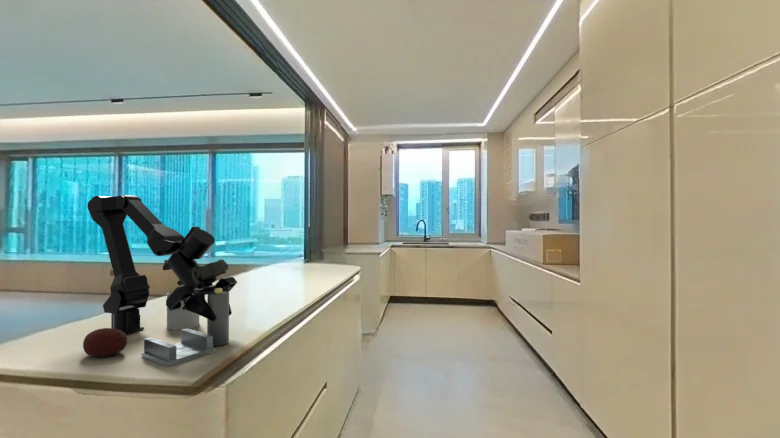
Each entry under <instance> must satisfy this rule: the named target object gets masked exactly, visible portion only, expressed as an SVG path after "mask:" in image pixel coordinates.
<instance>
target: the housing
mask: <svg viewBox="0 0 780 438" xmlns="http://www.w3.org/2000/svg"><path fill="white" fill-rule="evenodd" d="M180 334H181V335H180V341H179V342H175V343H170V342H167V341H164V340H160V339H158V338H155V337H152V336H151V337H146V338H143V341H144V342H143V346H144V347H143V351H142V352H141V358H143V359H146V360H148V361H151V362H152V363H153V362H154V363H155V364H158V365H160V366H163V367H164V368H165V367H166V368H169V367H172V366H174V365H175V366H176V365H178V364H181V363H184V362H187V361H191V360H193V359H196V358H200V357H203V356H205V355H206V356H207V355H210V354H213V353H215V352H216V348H215V346H213V336H212V335H209V334H207V333H206V332H202V331H198V330H195V329H192V328H189V329H188V328H186V329H182V330H180ZM212 352H213V353H212Z"/></svg>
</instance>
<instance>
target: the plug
mask: <svg viewBox="0 0 780 438" xmlns="http://www.w3.org/2000/svg"><path fill="white" fill-rule="evenodd" d="M206 302H207V303H208V305H209V306H210V308H211V309H212V311H213V312H214V314H215V316H216V320H215V321H211V320H209V319H207V318H206V319H207V321H206V322H207V323H206V326H207V327H206V330H207V331H206V334H209V335H212V336H213V347H217V346H223V345H227V344H228V343H229V341H230V316H229V304H230V291H229V292H222V288H216V289H215V292H212V293H208V294H207V300H206Z"/></svg>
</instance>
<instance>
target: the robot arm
mask: <svg viewBox="0 0 780 438" xmlns="http://www.w3.org/2000/svg"><path fill="white" fill-rule="evenodd" d="M87 210H88V212H89V214H90V217H91V220H92V221H93V222H94V223H95V224H97V225H98V226H99V227H100V228H101V230H102V234H103V237H104V241H105V245H106V248H107V253H108V257H109V260H110V264H111V268H112V273H113V275H114V277H113V281H112V282H111V285H110V288H109V289H110V295H109V297H108V298H107V299H106V300H105V302H104V303H103V304H102V308H103V312H104V313H106V314H111V321H110V323H111V325H110V328H112V329H117V330H121V331H123V332H124V333H125V334H126V335H127V336H128V335H130V334H133V333H136V332H139V331H142V330H144V329H145V326H144V327H143V326H141V314H140V309H141V308H146V306H147V303H148V299H149V296H150V288H151V287H150V285H149V282H148V277H147V276H146V274H139V273H138V272H137V270H136V267H135V263H134V259H133V256H132V252H131V248H130V244H129V241H128V237H127V234H126V230H125V226H124V223H125V220H126V218H127V216H128V218H130V220H131V221H132V222H133V223H134V224H135V225H136V226H137V227H138V229H140V230H141V232H143V234H144V235H145V237H146V245H147V246H148V247H149V249H150V250H151V251H152V253H153V255H155V256H157V257H162V256H170V257H169V258H168V259H164V262H163V264H162V265H163V266H162V271H169V270H171V271H172V272H173V273H174V275H175V276H176V277H177V278H178V281H177V282H176V284H177V285H178V287H175V289H174V290H172V291H173V292H172V291H171V292H172V293H171V295H170V296H169V297H168V298H167V297H166V299H165V305H166V308H167V307H168V308H169V310H170V311H172V310H176V309H179V308H180V307H181V302H180V301H182V300H183V302H184V304H185V305H184V306H183V308H182V309H183V310H188V311H191V312H193V313H196V314H198V315H199V316H201V317H203V318H205V319H209V320H211V321H215V320H216V316H215V314H214V312H213V311H212V309H211V308H210V306H209V305H208V303H207V300H206V296H208V293H212V292H215V289H216V288H222V292H229V293H230V291H232V289H233V288H234V287H235V286H236V285H237V284H238V281H237V280H236V279H235V277H234V276H226V277H221V278H220V279H219V280H218V278H217V277H219V276H221V275H222V274H226V273H227V271H228V270H229V264H228V263H227V262H226V261H225V260H224V259H217V260H216V261H214V262H213V261H211V262H210V263H207V264H205V265H200V264H199V263H198V262H197V260H200V259H202V258H203V257H204V256H205V255H206V254H207V252H208V251H209V250H210V249H211V247H213V245H214V244H215V243H216V240H215V237H214V236H213V234H211V233H209V232H207V231H206V230H204V229H201V228H200V226H192V227H191V228H190V229H189V231H188V233H187V234H186V235H185V236H184V235H183V234H181V233H180V232H178V231H177V230H176V229H174V228H170V227H169V226H166V225H165V224H164V223H162V222H161V220H159V218H158V217H157V216H156V215H155V214H154V213H153V211H152V210H150V209H149V208H148V207H147V206H146V205H145V204H144V203H143V201H142V198H141V197H139V196H137V195H133V194H132V195H129V194H121V195H117V196H109V195H107V196H105V195H103V196H102V195H95V196H93V197H91V199H89V201H88V203H87ZM217 280H218V281H217ZM216 281H217V282H216ZM215 282H216V283H215ZM213 283H215V284H213ZM232 314H233V312H232V308H231V305H230V303H229V317H230V316H231V315H232Z"/></svg>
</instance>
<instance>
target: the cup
mask: <svg viewBox="0 0 780 438" xmlns="http://www.w3.org/2000/svg"><path fill="white" fill-rule="evenodd" d="M173 291H174V290H172V291H169V292H167V293H166V299H167V298H168V297H169V296H170V295H171V293H172V292H173ZM180 302H181V307H180V308H179V309H176V310H172V311H170V310H169V308H168V307H167V306H166V328H167V330H170V331H181V330H182V329H186V328H188V329H192V328H196V327H198V326H199V325H200V315H198V314H196V313H193V312H191V311H188V310H183V309H182V308H183V306H184V305H185V304H184V302H183V300H182V301H180Z"/></svg>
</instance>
